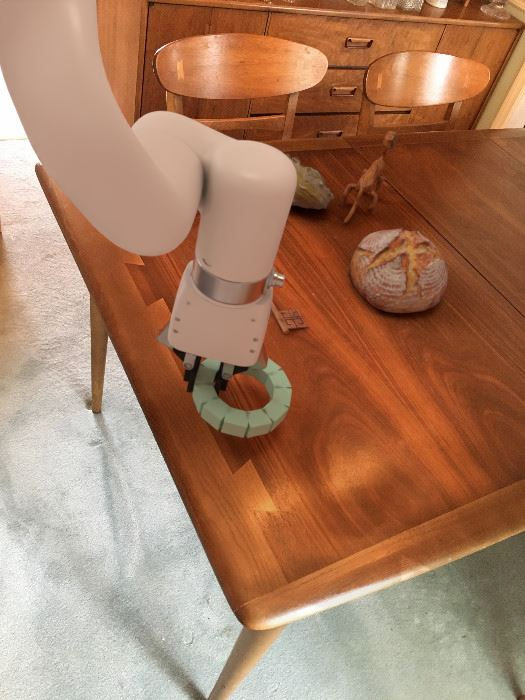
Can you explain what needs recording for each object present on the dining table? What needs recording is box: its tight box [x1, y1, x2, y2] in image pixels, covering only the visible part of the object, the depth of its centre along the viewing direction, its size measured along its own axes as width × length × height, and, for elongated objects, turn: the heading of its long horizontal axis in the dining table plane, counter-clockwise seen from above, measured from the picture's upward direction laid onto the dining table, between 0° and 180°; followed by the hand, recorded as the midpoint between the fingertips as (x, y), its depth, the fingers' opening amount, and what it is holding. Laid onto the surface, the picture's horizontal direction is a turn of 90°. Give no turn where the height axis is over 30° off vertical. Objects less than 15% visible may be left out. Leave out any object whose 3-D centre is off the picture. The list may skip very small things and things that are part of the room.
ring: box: [191, 357, 293, 439], centre depth 67 cm, size 12×12×2 cm
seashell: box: [285, 153, 335, 211], centre depth 103 cm, size 11×14×10 cm
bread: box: [349, 227, 449, 314], centre depth 92 cm, size 16×20×10 cm
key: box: [271, 300, 308, 335], centre depth 86 cm, size 6×1×15 cm
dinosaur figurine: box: [342, 127, 401, 224], centre depth 105 cm, size 18×7×14 cm, turn 154°
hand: (204, 386), depth 67 cm, fingers closed on ring, 2 cm apart
